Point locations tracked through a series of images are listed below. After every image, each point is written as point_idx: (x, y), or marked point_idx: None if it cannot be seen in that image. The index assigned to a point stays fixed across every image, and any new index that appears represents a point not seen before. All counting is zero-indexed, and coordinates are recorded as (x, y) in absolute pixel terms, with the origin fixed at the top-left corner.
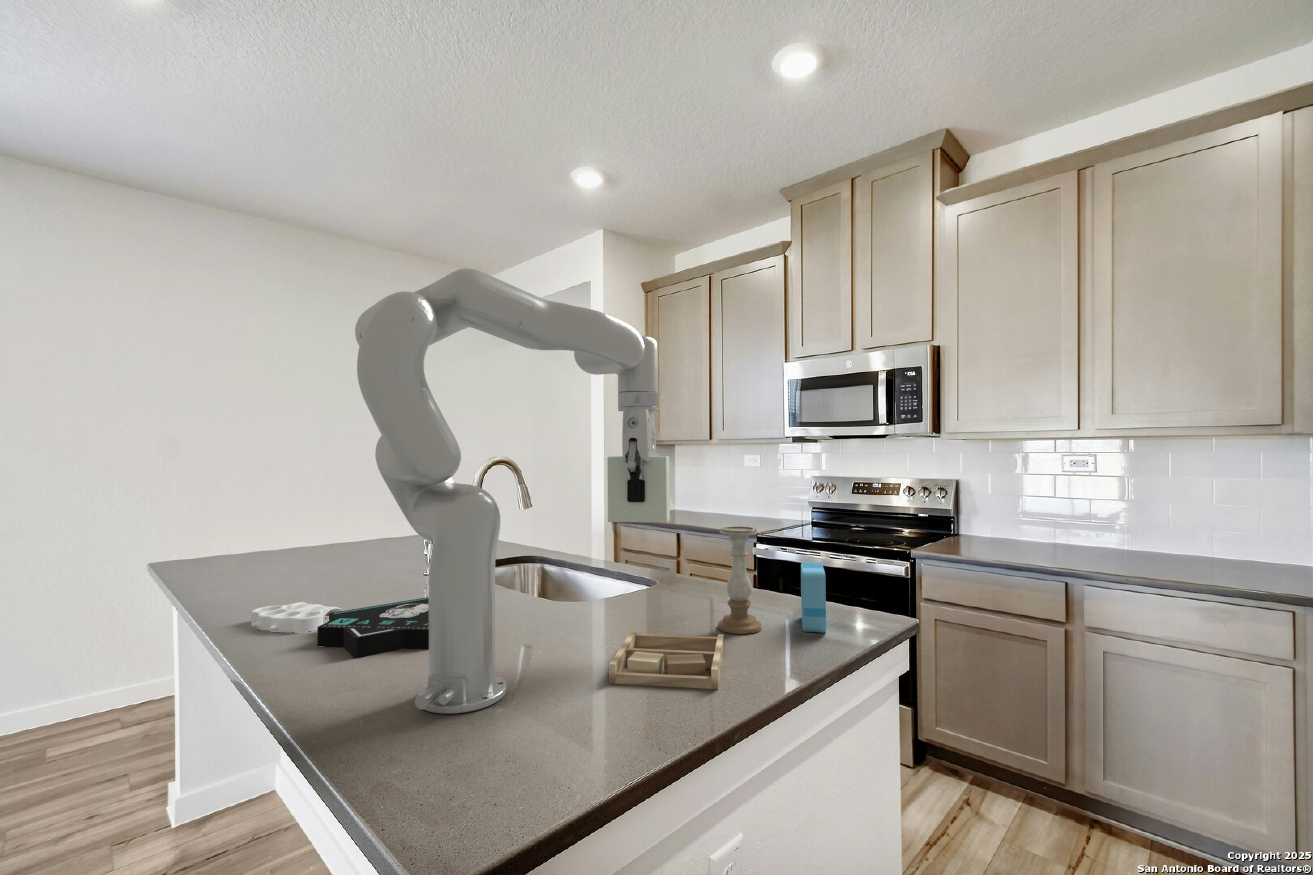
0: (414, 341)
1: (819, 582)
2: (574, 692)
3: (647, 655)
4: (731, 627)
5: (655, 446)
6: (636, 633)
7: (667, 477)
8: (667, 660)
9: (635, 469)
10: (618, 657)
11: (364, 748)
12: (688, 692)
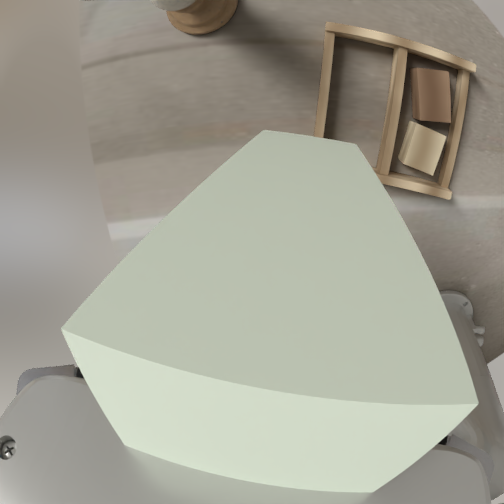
0: None
1: None
2: (456, 227)
3: (420, 147)
4: (229, 11)
5: (27, 498)
6: None
7: (329, 208)
8: (439, 121)
9: (456, 436)
10: (429, 188)
11: (492, 344)
12: (472, 101)
